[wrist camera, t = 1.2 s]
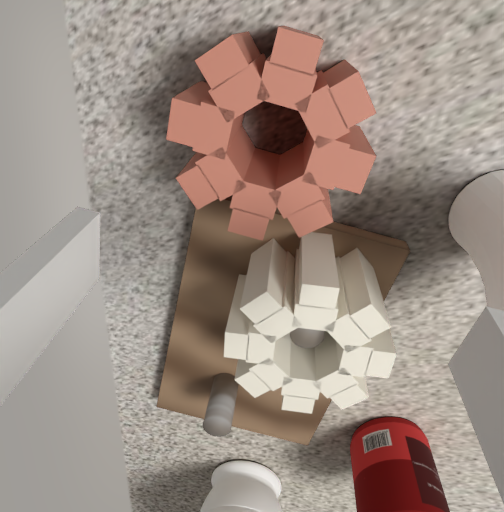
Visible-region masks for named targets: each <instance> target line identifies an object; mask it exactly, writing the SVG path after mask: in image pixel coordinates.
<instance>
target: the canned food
mask: <svg viewBox="0 0 504 512" xmlns="http://www.w3.org/2000/svg"><path fill="white" fill-rule="evenodd" d="M350 453H351V462H352V471H353V480H354V489H355V498H356V507H357V512H450V511H449V507H448V504H447V501H446V498H445V494H444V491H443V488H442V485H441V482H440V478H439V475H438V472H437V469H436V465H435V462H434V459H433V456H432V453H431V449H430V446H429V443H428V440H427V438H426V436H425V434H424V433H423V432H422V430H421V429H420V428H419V427H418V426H417V425H416V424H415V423H413V422H411V421H409V420H406V419H403V418H397V417H382V418H377V419H373V420H370V421H368V422H366V423H364V424H363V425H361V426H360V427H359V428H358V429H357V430H356V431H355V432H354V434H353V436H352V440H351V444H350Z"/></svg>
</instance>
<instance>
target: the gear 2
mask: <svg viewBox="0 0 504 512" xmlns="http://www.w3.org/2000/svg"><path fill="white" fill-rule="evenodd" d="M297 328H304V329H312V330H321V331H324V333H325V337H324V340H323V341H322V343H321V344H319V345H318V346H316V347H313V348H302V347H299V346H297V345H295V344H294V343H293V342H292V340H291V338H290V332H291V331H293V330H295V329H297ZM389 328H391V325H390V321H389V318H388V315H387V311H386V308H385V305H384V301H383V298H382V295H381V291H380V288H379V284H378V281H377V278H376V274H375V271H374V268H373V266H372V265H371V264H370V263H369V262H368V260H367V259H366V258H365V257H364V255H363V254H362V253H361V252H360V251H359V249H358V248H355V249H354V250H352V251H351V252H349V253H348V254H346V255H344V256H343V257H341V258H340V257H339V256H338V257H337V258H335V253H334V246H333V239H332V234H323V233H314V232H311V233H309V234H306V235H304V236H302V237H301V240H300V246H299V249H296V255H295V258H294V257H293V256H292V254H291V253H290V252H289V251H287V252H286V251H285V250H284V249H283V248H282V247H281V246H280V245H279V244H278V243H277V241H276V240H275V239H274V238H273V239H271V240H270V241H269V242H267V243H266V244H264V245H263V246H261V247H260V248H259V249H257V250H256V251H254V252H253V253H252V254H251V257H250V262H249V267H248V272H247V275H241V274H239V277H238V281H237V285H236V289H235V293H234V297H233V301H232V305H231V310H230V314H229V318H228V322H227V326H226V330H225V343H224V357H227V358H235V359H238V363H237V369H236V374H235V379H234V380H235V381H236V382H237V383H239V384H240V385H241V386H242V387H243V388H244V389H245V390H246V391H247V392H249V393H250V394H251V395H252V396H253V397H254V398H256V397H258V396H260V395H262V394H264V393H266V392H268V391H270V390H272V391H275V390H276V389H278V388H280V387H281V395H282V410H288V411H295V412H302V413H310V414H312V411H313V407H314V402H315V400H318V398H319V393H320V392H321V393H322V394H323V395H324V396H325V397H326V398H327V399H328V398H331V399H332V400H333V401H334V402H335V403H336V404H337V405H338V406H339V407H340V408H341V409H342V410H343V409H345V408H347V407H349V406H352V405H354V404H356V403H358V402H360V401H363V400H365V399H367V398H369V394H368V389H367V384H366V378H365V376H374V377H382V378H389V375H390V372H391V369H392V366H393V363H394V360H395V358H396V355H397V353H396V349H395V346H394V342H393V339H392V335H391V332H390V329H389Z"/></svg>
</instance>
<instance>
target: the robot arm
mask: <svg viewBox="0 0 504 512" xmlns="http://www.w3.org/2000/svg"><path fill="white" fill-rule="evenodd" d="M99 273H100V212H97V211H93V210H89V209H85V208H81V207H77V208H75V209H74V210H73V211H72V212H71V213H70V214H68V215H67V216H66V217H65V218H64V219H63V220H61V221H60V222H59V223H58V224H57V225H55V226H54V227H53V228H52V229H51V230H50V231H48V232H47V233H46V234H45V235H44V236H43V237H41V238H40V239H39V240H38V241H37V242H35V243H34V244H33V245H32V246H31V247H30V248H28V249H27V250H26V251H25V252H24V253H23V254H21V255H20V256H19V257H18V258H17V259H16V260H15V261H13V262H12V263H11V264H10V265H8V266H7V267H6V268H5V269H4V270H3V271H1V272H0V406H1V405H2V404H3V403H4V401H5V400H6V399H7V397H8V396H9V395H10V393H11V392H12V391H13V390H14V388H15V387H16V386H17V384H18V383H19V382H20V381H21V379H22V378H23V377H24V375H25V374H26V373H27V372H28V370H29V369H30V367H31V366H32V365H33V364H34V363H35V361H36V360H37V359H38V357H39V356H40V355H41V354H42V352H43V351H44V350H45V348H46V347H47V346H48V345H49V343H50V342H51V341H52V339H53V338H54V337H55V336H56V334H57V333H58V332H59V330H60V329H61V328H62V327H63V325H64V324H65V323H66V321H67V320H68V319H69V317H70V316H71V315H72V314H73V312H74V311H75V310H76V308H77V307H78V306H79V305H80V303H81V302H82V301H83V300H84V298H85V297H86V296H87V294H88V293H89V292H90V290H91V289H92V288H93V287H94V285H95V284H96V283H97V281H98V280H99ZM448 365H449V367H450V370H451V373H452V375H453V378H454V380H455V383H456V385H457V388H458V390H459V393H460V395H461V398H462V400H463V403H464V405H465V408H466V410H467V413H468V415H469V418H470V420H471V423H472V425H473V428H474V430H475V433H476V435H477V438H478V440H479V443H480V445H481V448H482V450H483V453H484V456H485V458H486V461H487V463H488V466H489V468H490V471H491V473H492V476H493V478H494V481H495V483H496V486H497V488H498V491H499V493H500V496H501V498H502V501H503V503H504V311H502V310H498V309H494V308H490V307H486V308H485V309H484V311H483V312H482V314H481V315H480V317H479V318H478V320H477V321H476V323H475V324H474V326H473V327H472V329H471V330H470V332H469V333H468V335H467V336H466V338H465V339H464V341H463V342H462V344H461V345H460V346H459V348H458V349H457V351H456V352H455V354H454V355H453V357H452V358H451V360H450V361H449V363H448Z"/></svg>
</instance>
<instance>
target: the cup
mask: <svg viewBox="0 0 504 512" xmlns="http://www.w3.org/2000/svg"><path fill="white" fill-rule="evenodd" d="M448 219H449V229H450V232H451V234H452V237H453V238H454V239H455V240H456V241H457V243H458V244H459V245H460V246H461V247H462V248H463V249H464V250H465V251H466V252H467V253H468V254H469V255H470V256H471V258H472V260H473V262H474V263H475V265H476V267H477V269H478V270H479V272H480V275H481V278H482V281H483V284H484V287H485V294H486V302H487V307H490V308H494V309H498V310H502V311H504V170H499V171H494V172H490V173H488V174H485V175H483V176H481V177H478V178H477V179H475V180H474V181H473V182H471V183H470V184H468V185H467V186H466V187H465V188H464V189H463V190H462V191H461V192H460V193H459V194H458V195H457V197H456V199H455V201H454V202H453V204H452V206H451V209H450V213H449V217H448Z"/></svg>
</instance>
